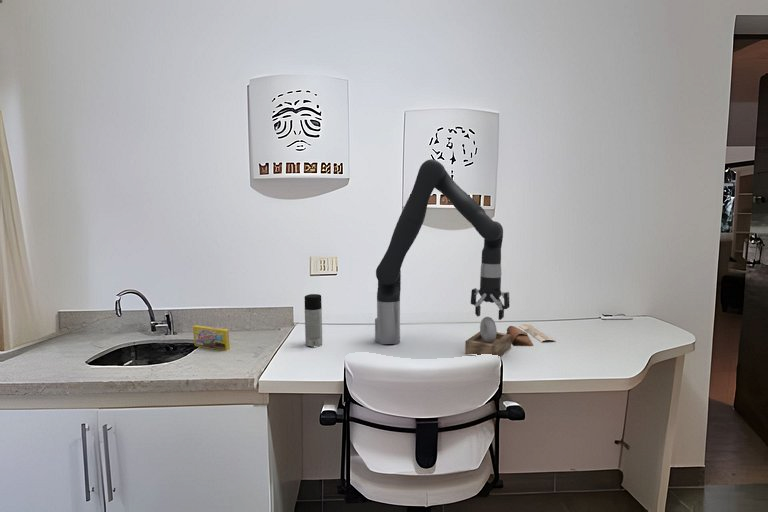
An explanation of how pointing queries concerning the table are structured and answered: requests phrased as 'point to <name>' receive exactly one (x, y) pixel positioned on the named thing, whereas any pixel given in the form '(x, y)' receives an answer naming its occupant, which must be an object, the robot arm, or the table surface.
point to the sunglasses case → (519, 337)
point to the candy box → (211, 337)
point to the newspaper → (535, 332)
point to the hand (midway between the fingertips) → (489, 317)
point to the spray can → (313, 320)
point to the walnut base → (488, 345)
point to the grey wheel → (488, 330)
